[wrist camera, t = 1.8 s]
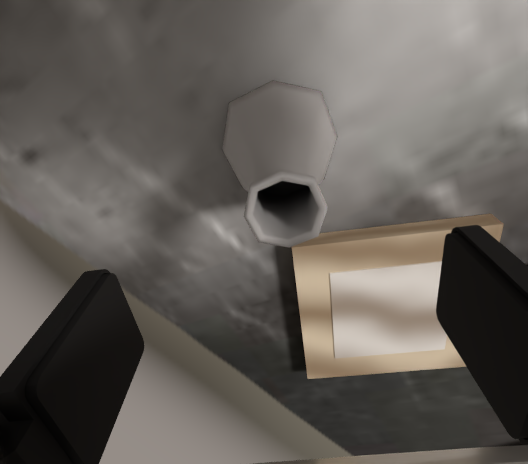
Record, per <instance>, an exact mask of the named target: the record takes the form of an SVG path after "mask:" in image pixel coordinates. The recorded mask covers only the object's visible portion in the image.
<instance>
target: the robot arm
mask: <svg viewBox="0 0 528 464" xmlns="http://www.w3.org/2000/svg"><path fill="white" fill-rule="evenodd" d="M436 315H437V319H438V321H439V323H440V325H441V326H442V328H443V329H444V331H445V333H446V334H447V336H448V338H449V339H450V341H451V342H452V344H453V346H454V347H455V349H456V350H457V352H458V354H459V355H460V357H461V358H462V360H463V362H464V363H465V365H466V366H467V368H468V370H469V371H470V373H471V374H472V376H473V378H474V379H475V381H476V382H477V384H478V386H479V387H480V389H481V390H482V392H483V394H484V395H485V397H486V398H487V400H488V402H489V403H490V405H491V406H492V408H493V410H494V411H495V413H496V414H497V416H498V418H499V419H500V421H501V423H502V424H503V426H504V427H505V429H506V431H507V432H508V433H509V435H510V436H511V437H512V438H514V439H519V440H520V441H521V443H522V445H519V446H499V447H480V448H466V449H451V450H437V451H422V452H408V453H393V454H379V455H364V456H350V457H336V458H323V459H309V460H296V461H282V462H269V463H256V464H528V266H527V265H526V264H525V263H523V262H522V261H521V260H520V259H519V258H517V257H516V256H515V255H514V254H513V253H512V252H510V251H509V250H508V249H507V248H506V247H504V246H503V245H502V244H501V243H500V242H499V241H497V240H496V239H495V238H494V237H493V236H491V235H490V234H489V233H488V232H487V231H486V230H484V229H483V228H482V227H481V226H479V225H470V226H462V227H455V228H453V229H452V231H451V233H448V234H446V236H445V241H444V249H443V257H442V265H441V273H440V281H439V289H438V297H437V305H436ZM143 351H144V341H143V338H142V335H141V333H140V331H139V328H138V326H137V324H136V321H135V319H134V317H133V314H132V312H131V310H130V307H129V305H128V303H127V300H126V298H125V296H124V293H123V291H122V288H121V286H120V284H119V281H118V279H117V277H116V275H115V274H113V273H110V272H109V271H108V270H106V269H102V270H94V271H87V272H84V273H83V274H82V275H81V276H80V278H79V279H78V280H77V281H76V283H75V284H74V285H73V287H72V288H71V289H70V290H69V291H68V293H67V294H66V295H65V296H64V298H63V299H62V300H61V302H60V303H59V304H58V305H57V307H56V308H55V309H54V310H53V311H52V313H51V314H50V315H49V316H48V318H47V319H46V320H45V321H44V323H43V324H42V325H41V326H40V328H39V329H38V330H37V332H36V333H35V334H34V335H33V336H32V338H31V339H30V340H29V342H28V343H27V344H26V345H25V346H24V348H23V349H22V350H21V352H20V353H19V354H18V355H17V357H16V358H15V359H14V360H13V362H12V363H11V364H10V365H9V367H8V368H7V369H6V370H5V372H4V373H3V374H2V375H1V377H0V464H99V462H100V459H101V457H102V454H103V452H104V449H105V447H106V444H107V442H108V439H109V437H110V434H111V432H112V429H113V427H114V424H115V422H116V419H117V416H118V414H119V412H120V409H121V406H122V404H123V401H124V399H125V397H126V394H127V391H128V389H129V387H130V384H131V382H132V379H133V376H134V374H135V371H136V369H137V366H138V364H139V361H140V359H141V356H142V354H143Z"/></svg>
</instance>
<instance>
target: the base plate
mask: <svg viewBox="0 0 528 464" xmlns="http://www.w3.org/2000/svg"><path fill="white" fill-rule="evenodd" d="M470 225H479V226H481V227H482V228H483V229H484V230H486V231H487V232H488V233H489V234H490V235H491V236H493V237H494V238H495V239H496V240H497V241H499V242H500V237H501V233H502V229H503V223H502V222H501V221H499V220H498V219H497V218H496V217H494V216H493V215H492V214H484V215H475V216H467V217H458V218H449V219H440V220H432V221H423V222H414V223H405V224H397V225H388V226H379V227H371V228H362V229H353V230H344V231H336V232H327V233H319V236H318V237H315V238H313V239H310V240H308V241H305V242H302V243H300V244H297V245H295V246H292V254H293V262H294V270H295V279H296V287H297V295H298V303H299V311H300V319H301V328H302V336H303V344H304V352H305V360H306V369H307V377H308V379H314V378H327V377H339V376H352V375H365V374H377V373H390V372H402V371H415V370H428V369H440V368H453V367H465V366H466V365H465V363H464V362H463V360H462V358H461V357H460V355H459V354H458V352H457V350H456V349H455V347H454V346H453V344H452V342H451V341H450V339H449V338H448V336H447V334H446V333H445V331H444V329H443V328H442V326H441V325H440V323H439V321H438V319H437V315H436V305H437V297H438V289H439V281H440V273H441V265H442V257H443V249H444V241H445V236H446V234H448V233H451V231H452V229H453V228H455V227H462V226H470Z"/></svg>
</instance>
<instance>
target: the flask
mask: <svg viewBox="0 0 528 464" xmlns="http://www.w3.org/2000/svg"><path fill="white" fill-rule="evenodd" d="M336 139H337V133H336V131H335V128H334V125H333V122H332V120H331V117H330V114H329V111H328V109H327V106H326V103H325V100H324V98H323V95H322V92H321V91H318V90H313V89H309V88H304V87H300V86H295V85H291V84H286V83H282V82H278V81H271V82H269V83H267V84H265V85H263V86H261V87H259V88H257V89H255V90H253V91H251V92H249V93H247V94H245V95H243V96H241V97H240V98H238V99H236V100H234V101H232V102H230V103H229V106H228V113H227V120H226V127H225V134H224V141H223V147H222V150H223V152H224V154H225V156H226V158H227V159H228V161H229V163H230V165H231V167H232V169H233V170H234V172H235V174H236V176H237V178H238V180H239V182H240V183H241V185H242V187H243V188H244V189H245V190H246V191H248V197H247V202H246V207H245V213H244V217H245V219H246V221H247V223H248V225H249V226H250V228H251V230H252V232H253V233H254V235H255V237H256V239H257V241H258V242H260V243H266V244H271V245H277V246H282V247H288V248H289V247H292V246H295V245H297V244H300V243H302V242H305V241H308V240H310V239H313V238H315V237H318V236H319V233H320V230H321V227H322V224H323V221H324V218H325V215H326V212H327V209H328V208H327V204H326V202H325V200H324V197H323V195H322V192H321V190H320V188H319V184H320V183H321V182H322V181H323V180H324V178H325V175H326V172H327V168H328V165H329V162H330V159H331V156H332V152H333V149H334V146H335V143H336Z"/></svg>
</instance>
